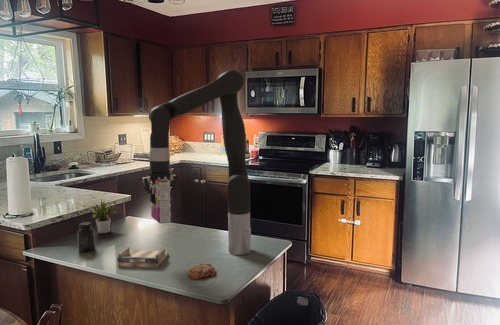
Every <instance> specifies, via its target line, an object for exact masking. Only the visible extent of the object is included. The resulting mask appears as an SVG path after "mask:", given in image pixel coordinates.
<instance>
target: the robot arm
mask: <svg viewBox="0 0 500 325" xmlns="http://www.w3.org/2000/svg"><path fill="white" fill-rule="evenodd" d="M244 83H245V81H244V76H243V74H242V73H241V72H239V70H236V69H234V70H233V69H229V70H227V71H223V72H222V73H220V74H219V75H218V77H217V79H215V80H214V81H212V82H210V83H207V84H206V85H204V86H201V87H198V88H195V89H192V90H191V91H188V92H186V93H184V94H181V95H179V96H177V97H175V98H173V99H171V100H169V101H167V102H165V103H161V104H159V105H156V106H155V107H152V108H151V110H150V111H149V113H148V119H149V120H150V121H149V122H150V125H151V127H150V129H151V133H150V135H149V174H148V176H146V177H141V182H142V184H143V190H144V193H147V194H149V202H150V203H151V202H152V203H153V204H155V194H154V193H155V188H156V183H155V180H160V179H168V180H170V181H171V183H170V184H171V186H170V187H171V192H172V191H175V190H176V186H177V182H178V175H176V174H171V168H170V167H171V163H170V162H171V155H170V152H171V151H170V137H169V133H170V127H171V126H170V125H171V120H173V119H175V118H177V117H181V116H183V115H186V114H188V113H190V112H192V111H194V110H196V109H198V108H200V107H203V105H206V104H207V103H210V102H212V101H214V100H216V99H219V101H220V108H221V109H220V110H221V125H222V127H221V128H222V138H223V145H224V150H225V155H226V157H227V158H226V159H227V163H228V165H227V166H228V180H227V218H228V219H227V220H228V221H227V223H228V225H227V227H228V228H227V229H228V234H227V235H228V240H227V241H228V253H229V254H231V255H235V256H242V255H243V256H244V255H250V254H251V249H252V237H251V236H252V229H251V184H250V178H249V175H248V170H247V164H246V152H247V139H246V138H247V136H246V128H245V122H244V120H243V117H242V114H241V112H240V108H239V102H238V92H240V91H241V90H242V89H243V87H244ZM150 180H151V181H152V183H151V186H150V184H149V183H150ZM153 184H155V185H154V186H153Z"/></svg>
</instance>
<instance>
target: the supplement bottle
mask: <svg viewBox="0 0 500 325" xmlns="http://www.w3.org/2000/svg"><path fill="white" fill-rule="evenodd" d="M78 228H79V229H78V231H77V248H78V252H79V253H90V252H94V251H95V250H96V239H95V238H96V236H95V235H96V234H95V229H94V228H93V227H92V222H91V221H84V222H81V223H79V225H78Z"/></svg>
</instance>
